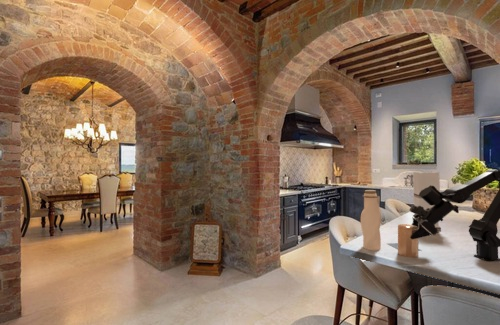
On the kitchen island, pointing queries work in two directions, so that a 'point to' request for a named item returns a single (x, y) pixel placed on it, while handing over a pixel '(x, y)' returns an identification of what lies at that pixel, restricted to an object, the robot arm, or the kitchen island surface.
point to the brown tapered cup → (407, 240)
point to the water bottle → (371, 221)
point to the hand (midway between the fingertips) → (409, 235)
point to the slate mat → (397, 245)
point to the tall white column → (422, 182)
